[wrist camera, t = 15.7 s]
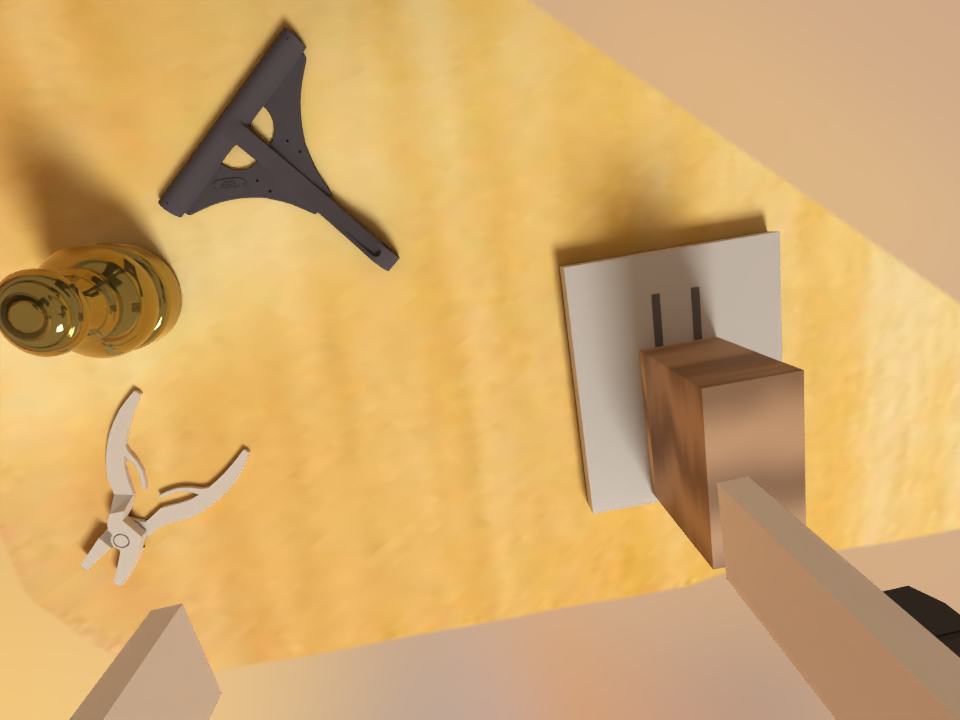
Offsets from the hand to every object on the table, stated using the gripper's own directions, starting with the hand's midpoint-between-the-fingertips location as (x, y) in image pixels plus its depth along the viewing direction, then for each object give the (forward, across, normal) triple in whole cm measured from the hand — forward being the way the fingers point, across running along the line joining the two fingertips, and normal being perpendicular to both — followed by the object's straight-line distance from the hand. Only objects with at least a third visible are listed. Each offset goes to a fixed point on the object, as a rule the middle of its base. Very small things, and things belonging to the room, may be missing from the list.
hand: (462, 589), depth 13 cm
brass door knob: (+29, -22, +8) cm, 37 cm away
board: (+28, +16, -7) cm, 34 cm away
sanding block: (+27, +16, -10) cm, 33 cm away
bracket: (+30, -7, +12) cm, 33 cm away
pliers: (+29, -26, -7) cm, 39 cm away
